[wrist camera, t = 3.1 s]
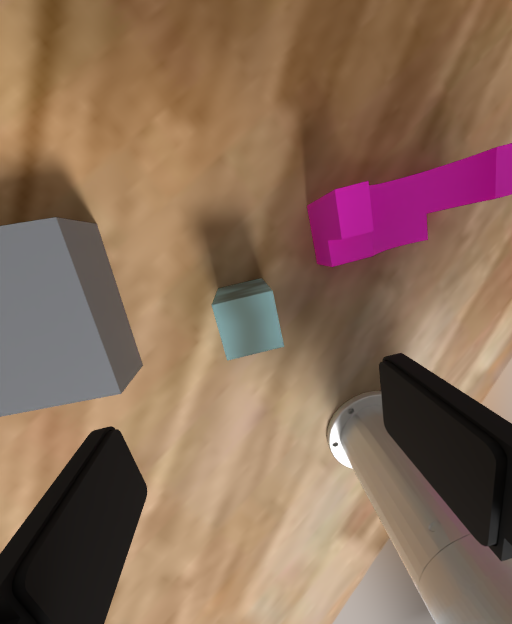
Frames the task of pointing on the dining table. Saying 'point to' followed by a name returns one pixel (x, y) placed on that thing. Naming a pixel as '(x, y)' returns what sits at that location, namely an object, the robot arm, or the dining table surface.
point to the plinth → (60, 318)
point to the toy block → (402, 206)
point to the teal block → (247, 319)
